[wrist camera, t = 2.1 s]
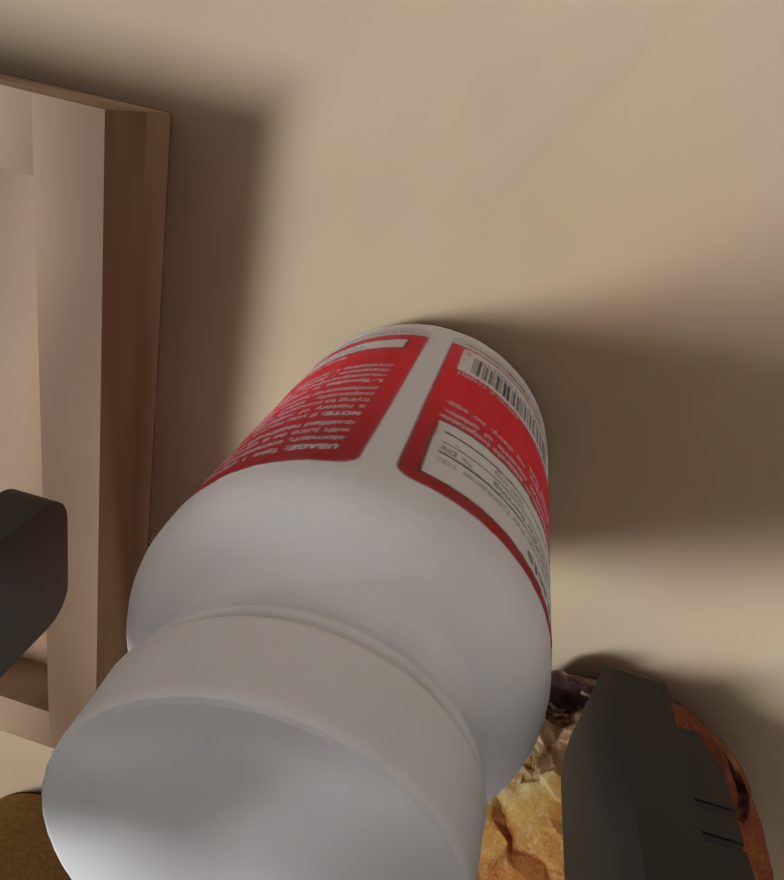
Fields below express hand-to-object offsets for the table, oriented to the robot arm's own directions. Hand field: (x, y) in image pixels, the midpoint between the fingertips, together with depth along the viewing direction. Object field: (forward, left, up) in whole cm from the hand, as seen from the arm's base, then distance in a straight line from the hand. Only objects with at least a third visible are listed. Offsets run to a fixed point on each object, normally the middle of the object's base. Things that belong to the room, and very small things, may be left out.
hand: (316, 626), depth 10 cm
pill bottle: (0, 0, -8) cm, 8 cm away
